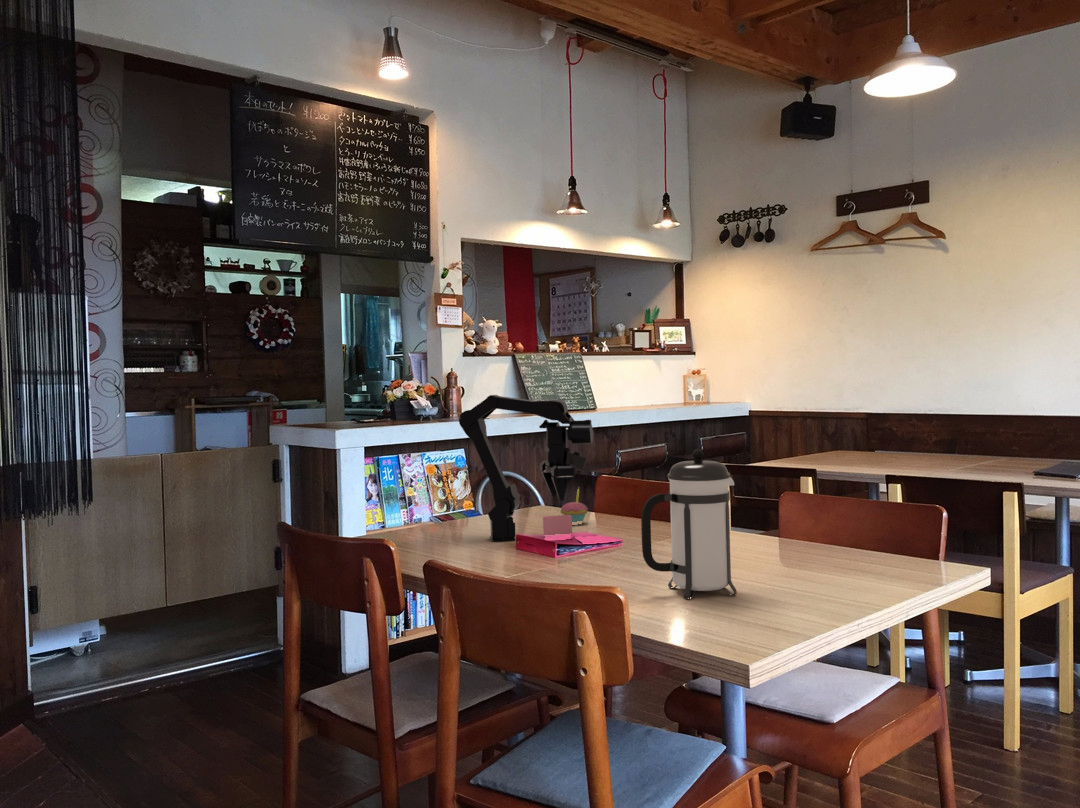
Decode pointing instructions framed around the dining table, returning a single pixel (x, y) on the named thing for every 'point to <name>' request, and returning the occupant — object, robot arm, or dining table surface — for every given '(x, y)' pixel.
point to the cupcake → (575, 509)
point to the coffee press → (695, 526)
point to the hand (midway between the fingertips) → (557, 498)
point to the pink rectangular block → (557, 524)
